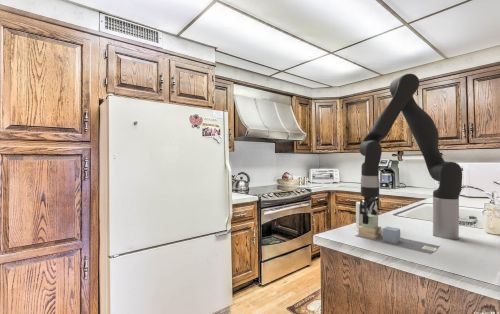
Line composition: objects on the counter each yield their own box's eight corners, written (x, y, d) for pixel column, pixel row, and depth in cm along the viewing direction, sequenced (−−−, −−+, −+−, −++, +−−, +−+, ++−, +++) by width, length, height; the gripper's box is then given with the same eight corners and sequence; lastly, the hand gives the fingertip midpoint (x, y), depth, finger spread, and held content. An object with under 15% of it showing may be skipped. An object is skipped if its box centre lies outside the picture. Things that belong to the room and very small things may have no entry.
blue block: (387, 237, 114) (387, 226, 114) (400, 240, 111) (400, 228, 111) (382, 240, 111) (382, 228, 111) (395, 243, 107) (395, 231, 107)
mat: (366, 231, 126) (366, 230, 126) (440, 247, 104) (440, 246, 104) (354, 236, 117) (354, 235, 117) (431, 255, 96) (431, 254, 96)
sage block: (366, 224, 121) (366, 213, 121) (378, 226, 117) (378, 215, 117) (361, 226, 118) (361, 215, 118) (373, 228, 114) (373, 217, 114)
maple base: (365, 232, 123) (365, 223, 123) (381, 235, 117) (381, 226, 117) (358, 235, 118) (358, 226, 118) (374, 239, 113) (374, 229, 113)
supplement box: (374, 230, 127) (375, 204, 126) (358, 230, 128) (358, 203, 128) (371, 226, 134) (371, 201, 134) (355, 226, 135) (355, 201, 135)
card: (424, 246, 104) (424, 245, 104) (436, 249, 101) (436, 248, 101) (421, 248, 101) (421, 247, 101) (433, 251, 98) (433, 250, 98)
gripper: (371, 187, 110) (371, 226, 110) (385, 185, 119) (385, 221, 120) (354, 186, 116) (354, 223, 116) (368, 183, 125) (368, 218, 125)
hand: (369, 222), depth 118 cm, fingers open, 8 cm apart
